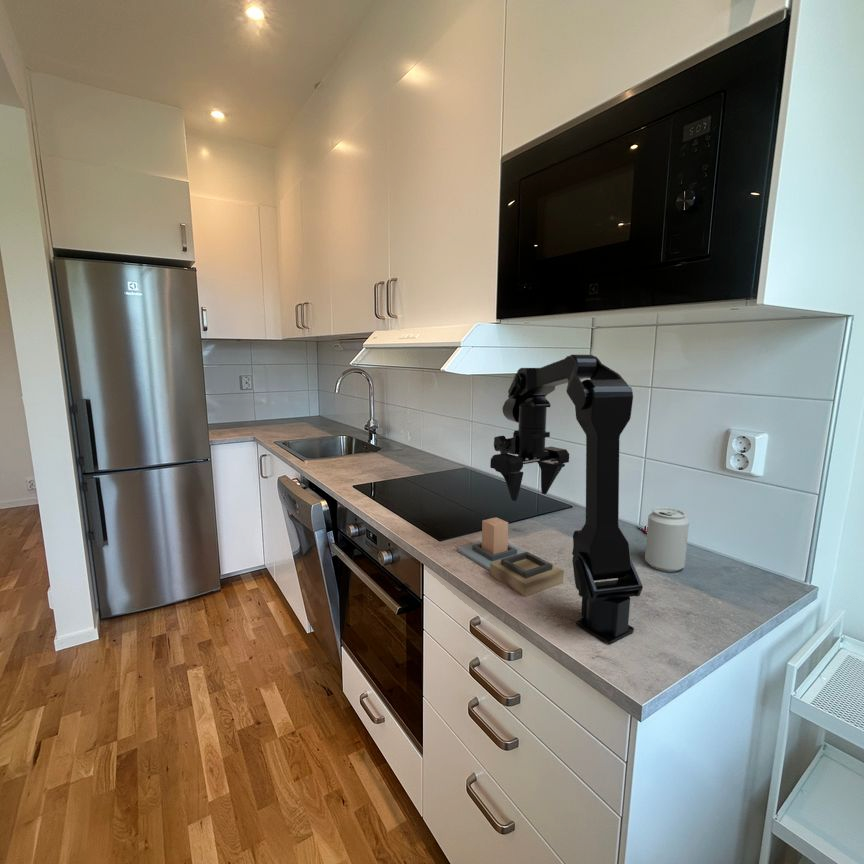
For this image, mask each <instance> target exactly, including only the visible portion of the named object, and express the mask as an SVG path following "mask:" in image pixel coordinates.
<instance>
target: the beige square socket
mask: <svg viewBox="0 0 864 864" xmlns="http://www.w3.org/2000/svg"><path fill="white" fill-rule="evenodd" d="M564 573H565V572H564V570H563V569H561V568H559V567H558V566H555V565H553V563H551V562H548V561H546V560H544V559H542V558H541V557H539V556H536V555H535V554H532V553H531V552H529V551H526V552H524V553H521V554H518V555H514V556H511V557H507V558H504V559H501V560H499V561H495V562H492V563H490V571H489V575H490V576H491V577H492V578H495V579H496V580H497V581H499V582H501V583H502V584H504V585H505V586H507V587H509V588H510V589H512V590H514V591H515V592H516V593H518V594H519V595H522V596H523V597H528V596H531V595H534V594H536V593H539V592H542V591H545V590H547V589H550V588H553V587H554V586H558V585H561V584H563V583H564V576H565V575H564Z"/></svg>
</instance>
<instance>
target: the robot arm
mask: <svg viewBox="0 0 864 864" xmlns="http://www.w3.org/2000/svg"><path fill="white" fill-rule="evenodd" d="M583 379H585V380H583ZM581 380H583V381H581ZM564 384H567V387H566V393H567V396H568V397H569V399H570V400H571V402H572V403H573V405H574V409H575V419H576V421H577V422H578V423H577V424H579V426H580V428H581V429H582V431H583V432H584V434H585V436H586V437H585V438H586V439H585V440H586V441H585V442H586V443H585V446H586V447H585V521H584V522H585V523H584V525H583V526H582V528H581V529H579V530H574V532H573V533H572V534H573V535H572V545H573V546H572V552H571V554H572V558H571V560H572V566H573V567H572V568H573V577H574V584H575V589H576V590H577V591H578V596H580V597H581V598H582V599H581V611H580V612H581V613H580V616H581V618H579V619H576V620H575V624H576V625H577V626H578V627H580V628H581V629H583V630H585V631H587V632H588V633H590V634H591V635H593V636H595V637H596V638H598V639H600V640H601V641H603V642H605V643H606V644H609V645H610V644H612V643H614V642H616V641H618V640H620V639H622V638H624V637H626V636H628V635H631V634H632V633H634V632H635V629H634V627H633V626H631V625H629V623H630V622H629V619H630V618H629V617H630V606H631V597H640V596H641V593H642V591H643V589H644V587H643V583H642V582H641V580H640V576H639V574H638V573H637V572H638V571H637V570H636V567H635V565H634V563H633V560H632V557H631V551H630V543H629V542H628V539H627V538H626V536H625V535H624V532H623V531H622V530H621V528H620V527H619V523H620V522H619V517H620V516H619V513H620V512H619V511H620V509H619V507H620V505H619V504H620V503H619V502H620V439H621V438H620V436H621V434H622V433H623V432H624V429H625V428H626V427H627V425H628V423H629V422H630V420H631V417H632V409H633V401H634V392H633V389H632V387H631V386H629V384H628V383H627V381H626V380H625V379H624V378H623V377H622V375H621V374H620V373H618V372H616V371H615V370H614V369H612V368H610V367H608V366H606V365H605V364H603V363H602V362H601V360H600V359H599V358H598V357H597V356H596V355H594V354H570V355H566V357H565V358H563V359H560V360H557V361H554V362H552V363H550V364H546V365H544V366H541V367H520V368H518V370H517V372H516V373H515V375H514V377H513V380H512V382H511V385H510V386H509V389H508V391H507V393H508V395H507V397H508V398H507V399H506V400H505V402H504V403H503V404H502V405H503V406H502V414H503V416H504V417H505V419H507V420H508V421H512V422H515V423H518V429H517V430H514V432H513V433H512V437H510V438H506V436H505V435H497V436H495V437H494V439H493V449H494V451H496V452H500V453H498V454H493V455H492V456H491V457H490V463H489V464H490V467H489V468H490V469H493V470H495V472H498V473H500V474H501V475H502V477H503V479H504V481H505V483H506V486H507V490H508V492H509V495H510V499H511V501H512V502H513V501H514V502H517V501H518V498H519V494H520V490H521V487H522V481H523V476H524V472H523V471H522V469H523V467H524V465H528V464H534V463H536V464H538V467H539V468H540V488H541V494H543V495H547V494H548V493H549V490H550V489H551V487H552V485H553V483H554V482H555V479H556V478H557V476H558V475H559V473H560V472H561V471H562V468H563V467H566V463H570V453H569V452H568V450H567V449H565V448H560V447H555V446H546V438H550V437H551V435H550V434H551V432H550V431H546V430H547V412H548V411H547V409H548V408H551V403H550V401H549V400H548V399H547V398H546V397H547V395H549V394H551V393H553V392H554V391H555V390H556V387H557V386H560V385H564Z"/></svg>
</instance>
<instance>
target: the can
mask: <svg viewBox="0 0 864 864" xmlns="http://www.w3.org/2000/svg"><path fill="white" fill-rule="evenodd" d="M651 511H652V512H651V513H650V514H648V519H647V530H646V542H645V555H644V560H645V561H646V562H647V564H649V566H651V568H653V569H655V570H658V571H662V572H668V573H674V572H678V571H680V570H681V569H683V568H685V566H686V557H687V556H686V555H687V547H688V546H687V545H688V539H689V538H688V536H689V535H688V534H689V527H690V522H689V519H688V518H687V517H686V516H687V513H686V512H684V511H683V510H680V509H677V508H675V507H674V508H673V507H666V506H658V507H654V508H652V510H651Z"/></svg>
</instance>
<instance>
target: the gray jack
mask: <svg viewBox="0 0 864 864" xmlns="http://www.w3.org/2000/svg"><path fill="white" fill-rule="evenodd" d="M456 551H457V552H458V553H460V554H461V555H462V556H465V557H466V558H468V559H469V560H471V561H473V562H474V563H476V564H478V565H479V566H481V567H483V568H484V569H485V570H487V571H488V572H490V563H492V562H495V561H499V560H501V559H504V558H507V557H511V556H514V555H518V554H521V553H524V552H527V551H526V550H523V549H521V548H520V547H518V546H515V545H514V544H511V543H510V542H508V549H507V551H504V552H500V553H497V554H494V555H493V554H491V553H489V552H487V551H486V550H484V549H482V541H478V542H475V543H471V544H466V545H464V546H463V545H462V546H460V547H456Z"/></svg>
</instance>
